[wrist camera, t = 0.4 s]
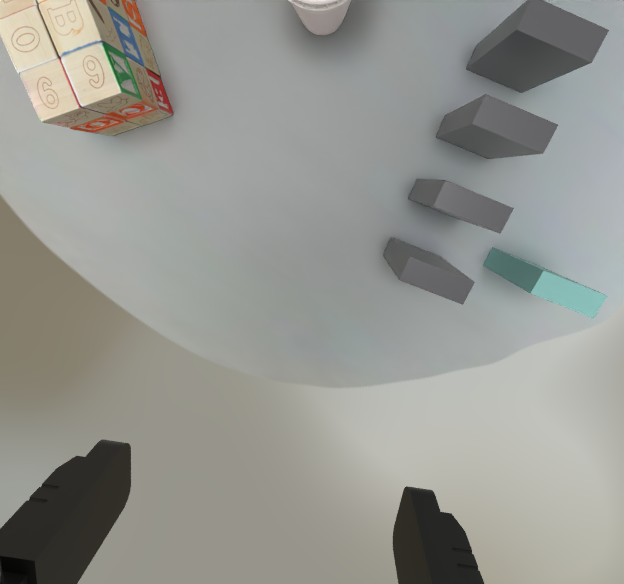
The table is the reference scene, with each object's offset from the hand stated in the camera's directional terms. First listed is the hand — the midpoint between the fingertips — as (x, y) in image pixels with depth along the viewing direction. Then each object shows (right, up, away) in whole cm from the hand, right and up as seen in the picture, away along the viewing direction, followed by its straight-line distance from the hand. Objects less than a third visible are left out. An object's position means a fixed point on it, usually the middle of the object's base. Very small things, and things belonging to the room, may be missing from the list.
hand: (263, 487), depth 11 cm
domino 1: (+17, +24, +20) cm, 35 cm away
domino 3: (+13, +14, +23) cm, 30 cm away
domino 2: (+15, +19, +22) cm, 32 cm away
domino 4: (+11, +9, +25) cm, 29 cm away
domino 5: (+20, +8, +25) cm, 33 cm away
